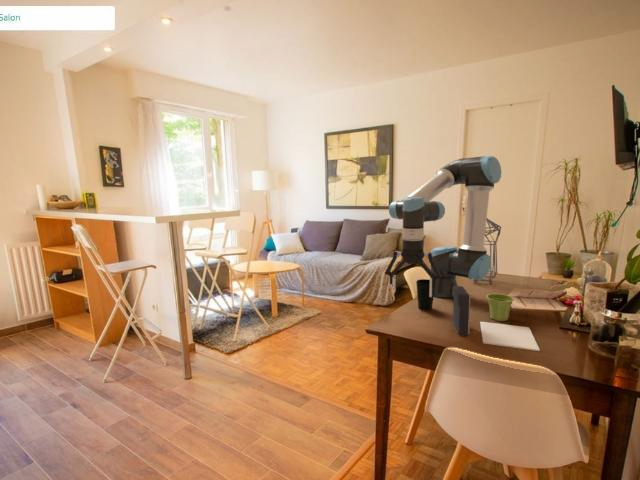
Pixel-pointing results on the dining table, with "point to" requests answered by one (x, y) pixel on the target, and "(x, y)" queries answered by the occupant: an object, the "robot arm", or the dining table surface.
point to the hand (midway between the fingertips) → (411, 294)
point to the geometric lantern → (493, 248)
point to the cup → (424, 295)
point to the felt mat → (508, 336)
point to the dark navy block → (461, 310)
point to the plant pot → (499, 306)
